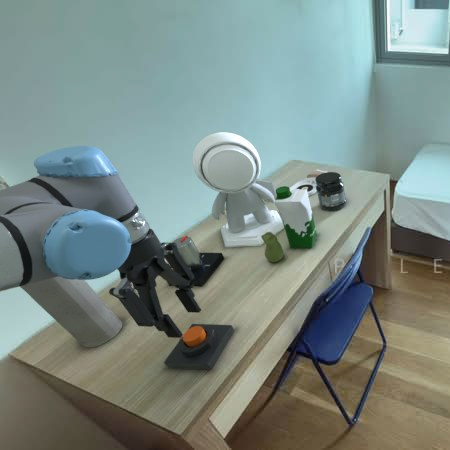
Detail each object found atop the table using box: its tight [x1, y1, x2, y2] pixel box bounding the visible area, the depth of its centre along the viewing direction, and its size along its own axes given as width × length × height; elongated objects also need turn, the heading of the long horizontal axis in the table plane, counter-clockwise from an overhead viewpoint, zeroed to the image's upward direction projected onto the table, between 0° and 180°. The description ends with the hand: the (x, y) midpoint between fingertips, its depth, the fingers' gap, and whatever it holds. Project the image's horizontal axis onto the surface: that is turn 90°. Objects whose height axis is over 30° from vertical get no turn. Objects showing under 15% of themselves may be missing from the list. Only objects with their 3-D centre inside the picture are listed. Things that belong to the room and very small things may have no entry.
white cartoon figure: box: [191, 131, 285, 248], centre depth 100 cm, size 20×23×35 cm
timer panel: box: [166, 251, 225, 288], centre depth 92 cm, size 12×10×3 cm
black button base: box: [163, 323, 235, 371], centre depth 70 cm, size 10×10×4 cm
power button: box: [182, 326, 206, 347], centre depth 69 cm, size 4×4×2 cm
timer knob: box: [171, 235, 204, 271], centre depth 89 cm, size 5×5×9 cm
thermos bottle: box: [19, 276, 123, 348], centre depth 68 cm, size 8×8×28 cm
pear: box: [261, 232, 284, 263], centre depth 93 cm, size 6×5×10 cm
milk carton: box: [273, 185, 318, 249], centre depth 97 cm, size 9×9×20 cm
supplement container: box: [315, 171, 347, 211], centre depth 119 cm, size 10×10×12 cm
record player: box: [289, 169, 327, 197], centre depth 135 cm, size 12×3×20 cm
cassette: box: [255, 178, 277, 200], centre depth 127 cm, size 12×2×8 cm, turn 67°
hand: (185, 322), depth 66 cm, fingers open, 6 cm apart
